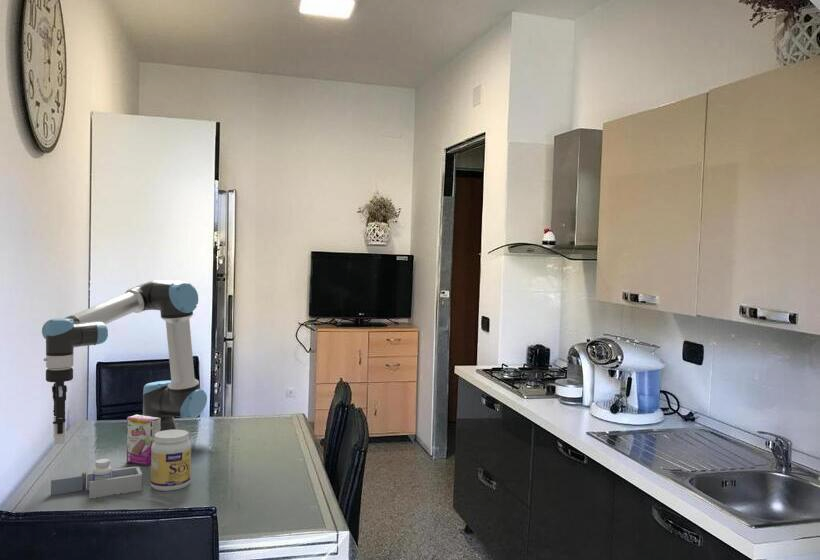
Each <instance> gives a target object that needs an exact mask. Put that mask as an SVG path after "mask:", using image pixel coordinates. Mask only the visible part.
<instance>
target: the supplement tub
mask: <svg viewBox="0 0 820 560" xmlns="http://www.w3.org/2000/svg"><path fill="white" fill-rule="evenodd" d="M189 439H190V436H189V431H188V430H184V429H178V430H176V429H175V430H164V431H160V432H157V433H155V435H154V441H155V442H154V443H153V444H152V447H151V466H150V486H151V488H152V489H154V490H156V491H162V492H170V491H171V492H173V491H176V490H177V491H178V490H181V489H183V488H185V487H188V486H189V484H190V483H191V476H192V475H191V469H192V465H191V464H192V463H191V462H192V443H191V441H190V440H189Z"/></svg>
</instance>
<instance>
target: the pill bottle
mask: <svg viewBox="0 0 820 560" xmlns="http://www.w3.org/2000/svg"><path fill="white" fill-rule="evenodd" d="M110 460H111V459H109V458H100V459H97V460H95V464H94V466H95V467H94V468H93V470H92V473H93V481H96V480H103V479H109V478H112V470H113V467H112V466H110V463H111V461H110Z"/></svg>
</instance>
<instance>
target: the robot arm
mask: <svg viewBox="0 0 820 560" xmlns="http://www.w3.org/2000/svg"><path fill="white" fill-rule="evenodd" d="M198 304H199V294H198V291H197V289H196V287H195V286H194V285H192V284H191V283H190V282H186V281H183V280H164V279H163V280H162V279H157V280H151V281H148V282H145V283H141V284H139V285H136V286H135V287H131V288H128V289H127V290H126V291H125V292H124V294H121V295H118V296H117V297H114V298H111V299H109V300H106V301H104V302H101V303H98V304H96V305H94V306H92V307H89V308H86V309H84V310H81V311H79V312H77V313H74V314H71V315H69V316H65V317H64V318H60V317H59V318H50V319H49V320H47V321H46V322H45V323H44V324H42V328H41V333H42V337H43V338H44V339H45V358H43V362H45V367H46V368H47V369H46V370H45V381H46V382H48V383H53V385H52V386H51V392H52V399H53V400H52V401H53V410H52V412H53V421H52V425H53V426H52V427H53V428H52V429H53V433H52V435H53V438H54V445H62V444H63V445H64V444H66V421H67V420H66V401H67V392H68V386H67V384H65V382H70V381H72V380H73V379H74V369H73V367H74V349H75V348H78V347H86V346H88V347H89V346H96V345H101V344H104V343H105V342H106V341H107V339H108V337H109V329H108V327H107V324H110V323H112V322H113V321H116V320H118V319H121V318H123V317H126V316H128V315H131V314H133V313H135V314H139V313H142V312H145V311H160V318H161V319H162V320H164V322H165V325H166V326H165V327H166V329H165V330H166V340H167V349H168V359H169V360H168V361H169V369H170V371H169V372H170V379H169V380H159V381H154V382H148V383H146V384H144V386H143V393H142V415H144V416H150V417H157V418H161V431H164V430H175V429H176V430H179V429H178V426H177V424H176V420H175V417H177V418H182V419H190V420H191V419H196V418H197V417H199V416H200V415H201V414H202V413H203V412H204V409H205V408H206V406H207V401H208V396H207V393H206V391H205V390H204V389H202V388H200V381H199V380H198V379H196V376H195V368H194V367H195V366H194V356H193V345H192V336H191V335H192V334H191V324H190V320H191V318H192V317H193V315H194V312H193V311H194V310H196V308H197V307H198V306H197V305H198Z"/></svg>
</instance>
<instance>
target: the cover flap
mask: <svg viewBox="0 0 820 560" xmlns="http://www.w3.org/2000/svg"><path fill="white" fill-rule="evenodd" d="M81 491H87V472H82V473H81V475H74V476H69V477H63V478H62V477H60V478H54V479H50V495H51V496H53V495H61V494H66V493H73V492H81Z"/></svg>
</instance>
